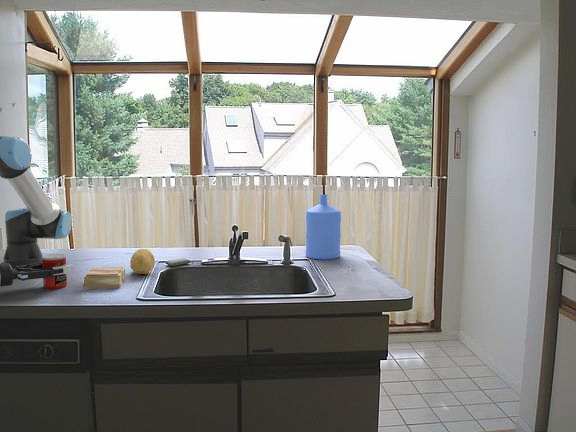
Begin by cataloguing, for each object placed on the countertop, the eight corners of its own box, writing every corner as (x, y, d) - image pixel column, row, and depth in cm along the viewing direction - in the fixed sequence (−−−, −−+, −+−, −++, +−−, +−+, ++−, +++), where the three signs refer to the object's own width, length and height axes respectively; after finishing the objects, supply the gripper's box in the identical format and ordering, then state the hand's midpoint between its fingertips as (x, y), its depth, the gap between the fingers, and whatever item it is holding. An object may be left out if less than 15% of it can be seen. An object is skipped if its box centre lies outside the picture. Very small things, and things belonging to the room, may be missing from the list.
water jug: (339, 260, 239) (340, 196, 235) (303, 259, 241) (303, 196, 237) (341, 253, 254) (342, 193, 250) (307, 252, 256) (308, 192, 253)
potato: (160, 269, 221) (159, 246, 220) (147, 278, 207) (147, 253, 205) (136, 268, 222) (135, 245, 221) (122, 277, 208) (121, 253, 206)
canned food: (59, 289, 190) (57, 258, 189) (38, 288, 192) (36, 257, 190) (71, 284, 198) (70, 254, 196) (52, 283, 199) (50, 253, 198)
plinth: (91, 280, 203) (91, 267, 202) (125, 279, 205) (124, 266, 204) (84, 289, 191) (83, 275, 191) (120, 287, 193) (119, 274, 192)
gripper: (-8, 280, 191) (60, 271, 205) (5, 293, 175) (78, 282, 189) (-9, 259, 190) (59, 251, 204) (3, 270, 174) (77, 261, 188)
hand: (68, 266), depth 197 cm, fingers closed on canned food, 8 cm apart
